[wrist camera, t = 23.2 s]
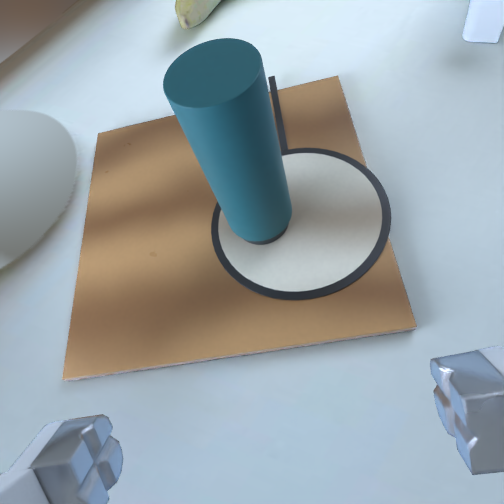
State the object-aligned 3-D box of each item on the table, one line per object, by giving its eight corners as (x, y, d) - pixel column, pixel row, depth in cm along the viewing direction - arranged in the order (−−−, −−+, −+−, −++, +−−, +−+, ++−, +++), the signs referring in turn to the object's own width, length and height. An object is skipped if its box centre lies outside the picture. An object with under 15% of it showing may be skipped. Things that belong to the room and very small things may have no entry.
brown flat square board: (427, 328, 20) (430, 324, 19) (67, 381, 23) (60, 379, 22) (341, 66, 31) (341, 58, 30) (103, 125, 33) (98, 118, 33)
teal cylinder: (298, 242, 23) (267, 93, 14) (234, 255, 24) (161, 118, 14) (289, 190, 25) (256, 27, 16) (230, 202, 26) (163, 52, 16)
